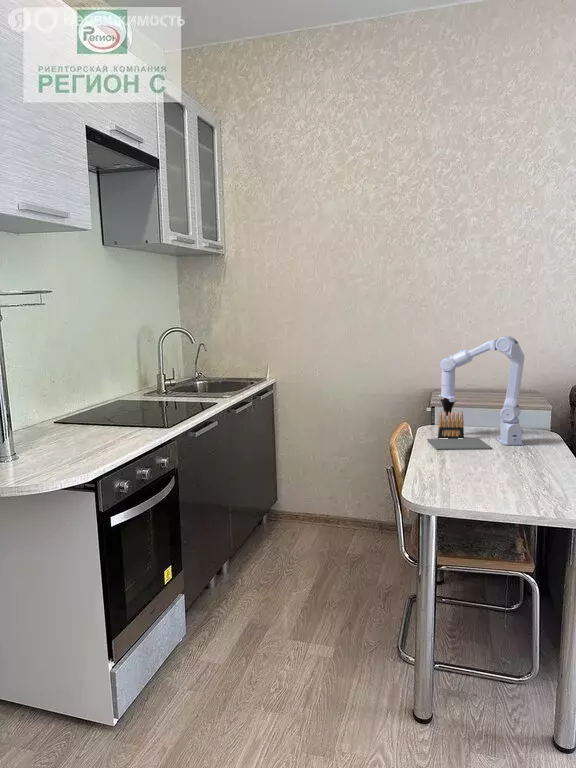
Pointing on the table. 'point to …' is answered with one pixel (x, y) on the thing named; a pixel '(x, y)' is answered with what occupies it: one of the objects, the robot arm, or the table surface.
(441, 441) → the mat
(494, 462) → the table surface
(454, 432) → the ammunition clip
